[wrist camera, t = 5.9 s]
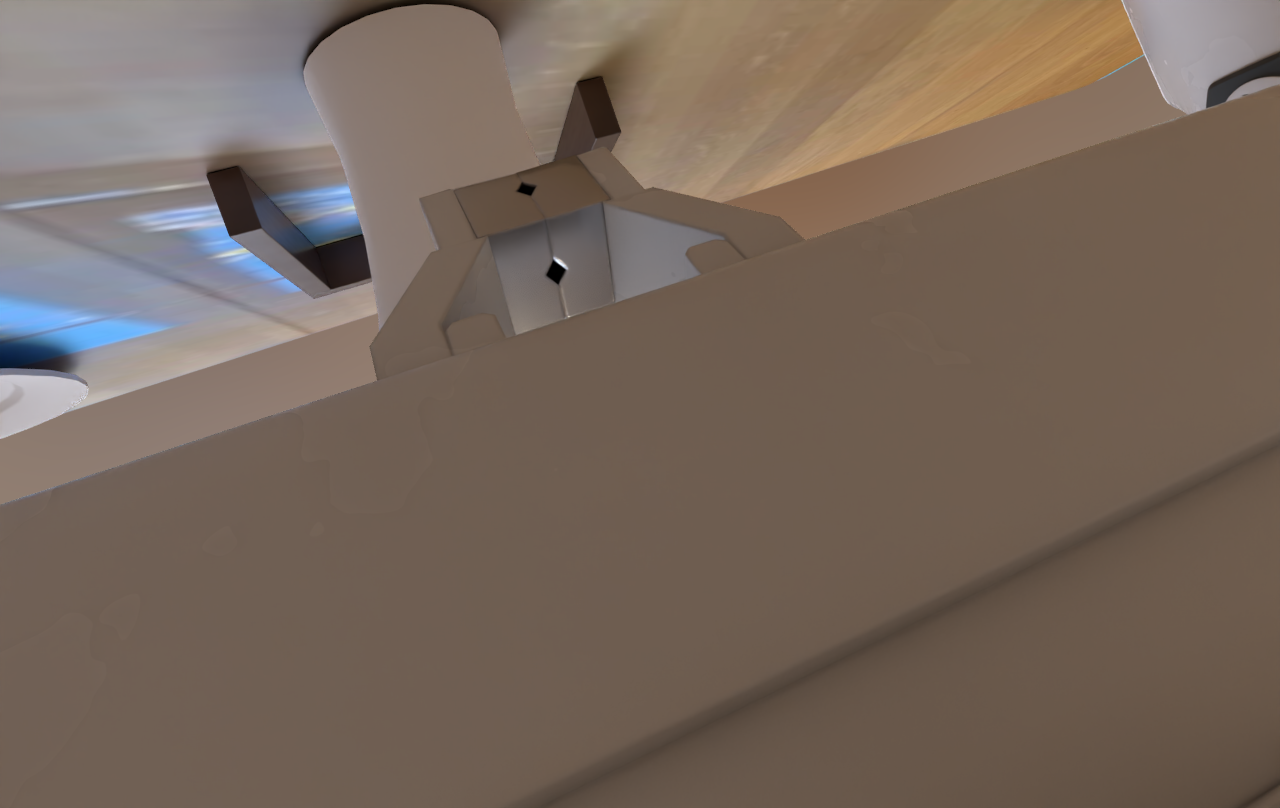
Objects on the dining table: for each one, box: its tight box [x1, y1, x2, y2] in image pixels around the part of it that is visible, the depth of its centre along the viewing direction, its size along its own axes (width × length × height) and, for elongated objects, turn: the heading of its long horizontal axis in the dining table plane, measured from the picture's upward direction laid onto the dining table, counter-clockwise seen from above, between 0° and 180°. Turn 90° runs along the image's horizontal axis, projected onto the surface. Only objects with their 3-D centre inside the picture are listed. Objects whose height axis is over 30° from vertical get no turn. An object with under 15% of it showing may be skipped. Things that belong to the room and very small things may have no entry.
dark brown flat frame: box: [207, 77, 621, 299], centre depth 35 cm, size 16×14×2 cm
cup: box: [303, 4, 540, 331], centre depth 24 cm, size 10×10×14 cm
